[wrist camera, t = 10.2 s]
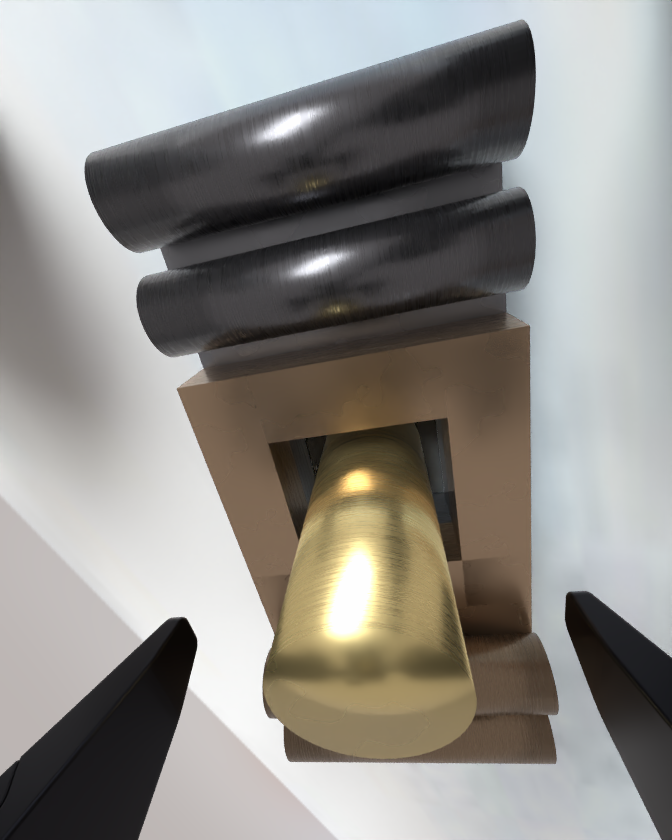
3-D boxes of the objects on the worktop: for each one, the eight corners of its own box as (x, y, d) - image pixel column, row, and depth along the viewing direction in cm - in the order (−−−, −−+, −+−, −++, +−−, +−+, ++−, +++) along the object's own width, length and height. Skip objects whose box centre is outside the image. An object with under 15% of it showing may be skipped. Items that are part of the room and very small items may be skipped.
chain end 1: (478, 82, 11) (535, -8, 7) (499, 527, 17) (535, 611, 13) (164, 172, 13) (67, 141, 9) (288, 547, 19) (265, 627, 15)
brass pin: (414, 395, 15) (469, 622, 6) (425, 479, 17) (482, 759, 8) (316, 410, 16) (235, 635, 7) (336, 490, 17) (292, 758, 8)
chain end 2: (488, 302, 13) (572, 349, 8) (503, 621, 20) (555, 777, 14) (224, 353, 15) (129, 422, 9) (316, 631, 22) (294, 774, 16)
